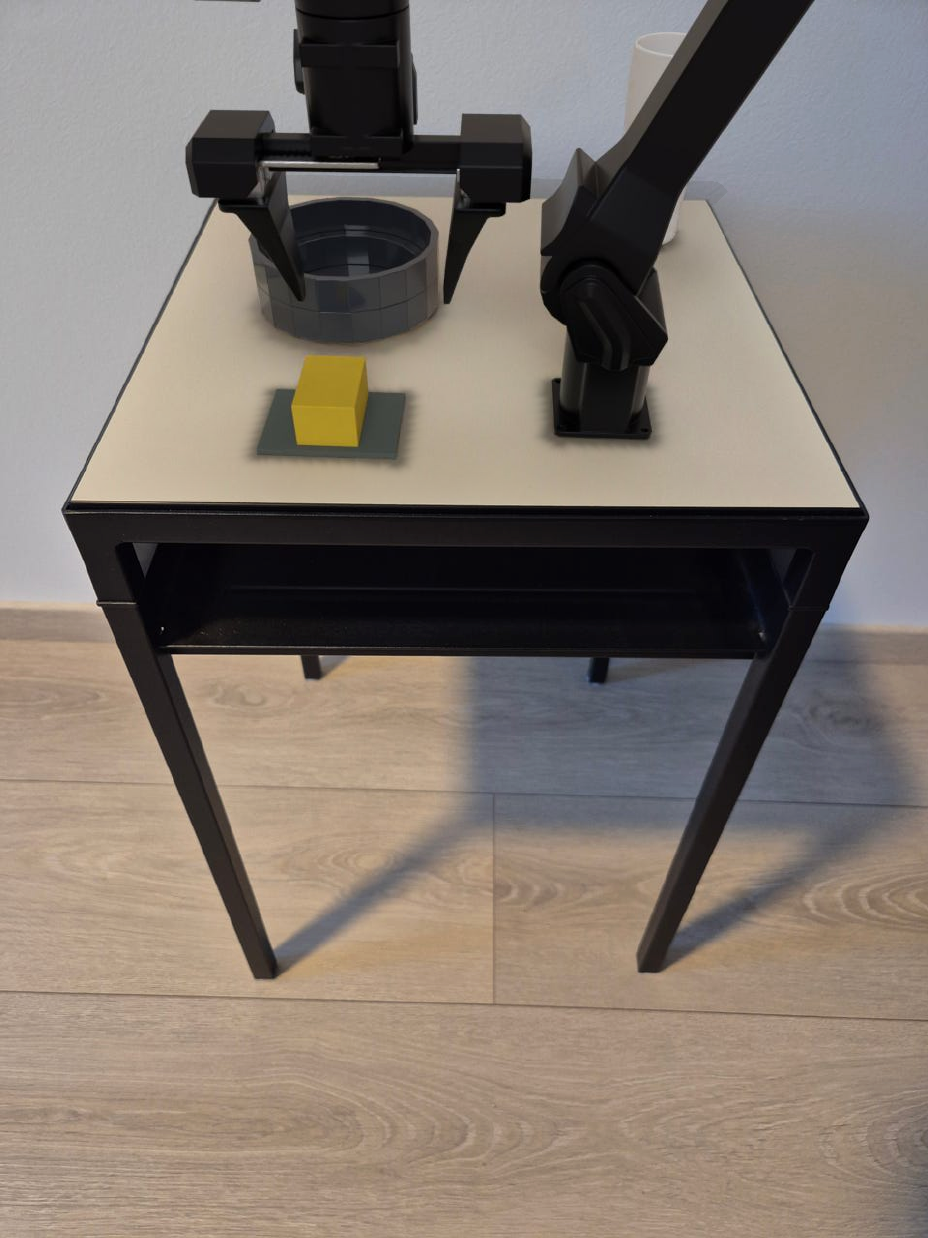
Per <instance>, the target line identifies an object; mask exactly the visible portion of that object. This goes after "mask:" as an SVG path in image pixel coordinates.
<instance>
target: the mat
mask: <svg viewBox="0 0 928 1238" xmlns="http://www.w3.org/2000/svg"><path fill="white" fill-rule="evenodd" d="M295 391H296V389H293V388H292V389H290V388H289V389H287V388H276V390H275V393H274V396H273V399H272V402H271V404H270V407H269V411H268V414H267V416H266V420H265V423H264V426H263V428H262V432H261V435H260V437H259V441H258V444H257V447H256V454H257V455H269V456H270V455H271V456H272V455H273V456H300V457H326V458H327V457H328V458H353V459H354V458H358V459H385V460H386V459H388V460H396V459H397V453H398V448H399V447H398V446H399V441H400V434H401V429H402V421H403V414H404V407H405V400H406V394H405V393H404V392H383V391H382V392H379V391H378V392H377V391H368V394H369V395H368V400H367V405H366V410H365V415H364V420H363V425H362V430H361V435H360V440H359V445H358V447H345V446H316V445H297V441H296V435H295V428H294V422H293V416H292V409H291V405H292V401H293V398H294V395H295Z"/></svg>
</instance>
